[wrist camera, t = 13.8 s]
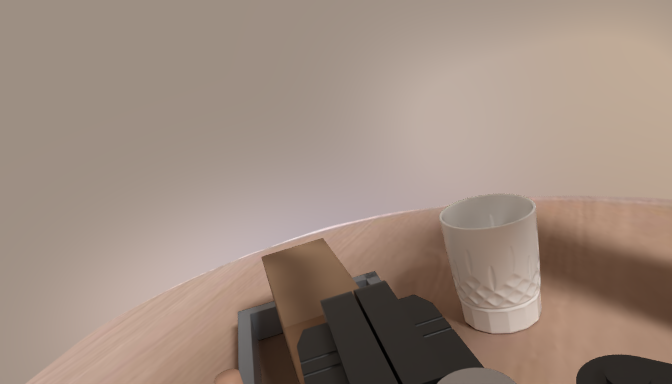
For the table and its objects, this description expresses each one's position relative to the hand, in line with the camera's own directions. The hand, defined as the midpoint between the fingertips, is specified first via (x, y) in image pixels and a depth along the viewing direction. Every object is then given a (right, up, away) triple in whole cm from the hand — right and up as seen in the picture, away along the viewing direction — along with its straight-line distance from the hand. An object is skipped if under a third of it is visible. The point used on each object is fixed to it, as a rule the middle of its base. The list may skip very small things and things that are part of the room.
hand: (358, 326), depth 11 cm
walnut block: (-1, -12, +32) cm, 35 cm away
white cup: (+14, -8, +34) cm, 38 cm away
